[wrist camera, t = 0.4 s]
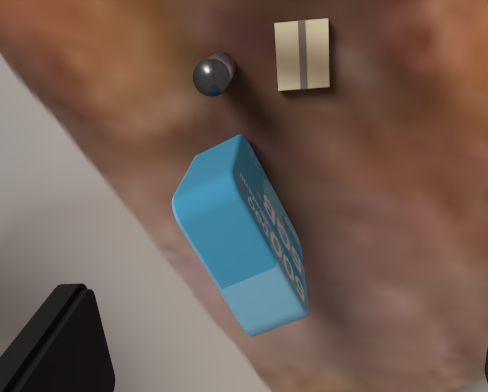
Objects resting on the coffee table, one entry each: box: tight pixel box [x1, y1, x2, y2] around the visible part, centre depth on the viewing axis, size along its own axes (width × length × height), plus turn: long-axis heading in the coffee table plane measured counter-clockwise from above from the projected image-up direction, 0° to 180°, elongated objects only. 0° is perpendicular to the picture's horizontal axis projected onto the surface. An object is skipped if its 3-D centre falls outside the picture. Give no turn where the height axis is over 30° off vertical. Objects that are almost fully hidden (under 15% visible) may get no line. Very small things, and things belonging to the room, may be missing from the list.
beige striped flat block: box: [274, 18, 329, 91], centre depth 35 cm, size 5×4×1 cm
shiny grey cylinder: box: [193, 52, 236, 97], centre depth 33 cm, size 2×2×6 cm
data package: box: [172, 134, 309, 336], centre depth 35 cm, size 12×4×12 cm, turn 27°
